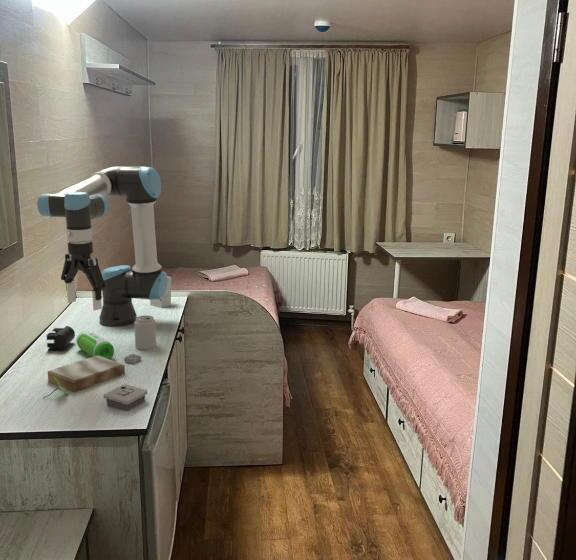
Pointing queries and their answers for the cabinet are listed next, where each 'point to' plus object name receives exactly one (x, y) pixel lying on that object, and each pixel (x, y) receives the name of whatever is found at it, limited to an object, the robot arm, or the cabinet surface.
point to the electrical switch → (125, 397)
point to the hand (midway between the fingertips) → (84, 305)
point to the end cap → (60, 338)
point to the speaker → (95, 345)
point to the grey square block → (132, 358)
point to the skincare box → (164, 297)
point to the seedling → (59, 387)
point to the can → (145, 333)
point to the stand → (86, 373)
